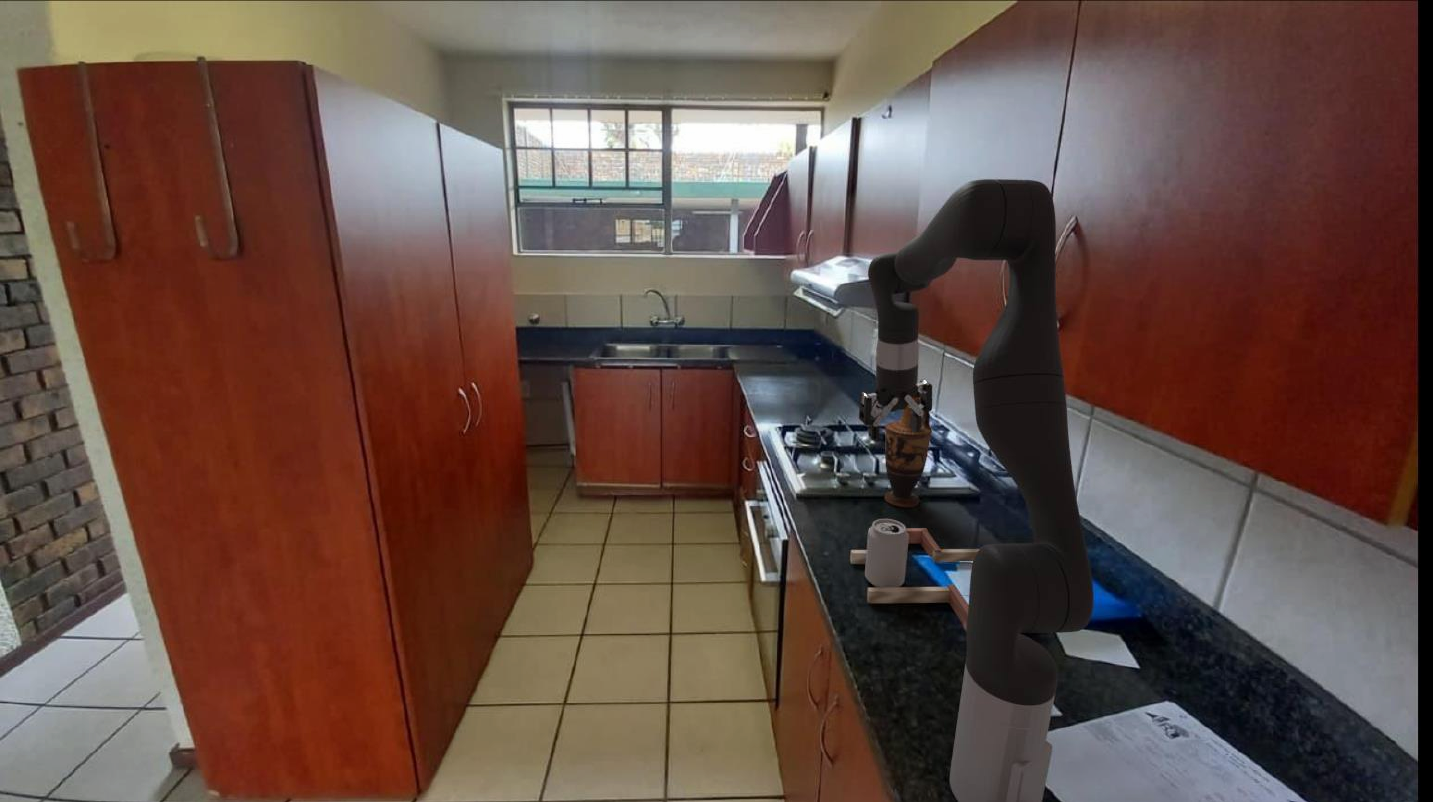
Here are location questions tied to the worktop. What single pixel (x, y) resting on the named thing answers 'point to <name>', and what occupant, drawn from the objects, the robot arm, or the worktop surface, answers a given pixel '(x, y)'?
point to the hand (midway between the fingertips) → (894, 435)
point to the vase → (906, 457)
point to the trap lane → (923, 593)
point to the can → (886, 553)
